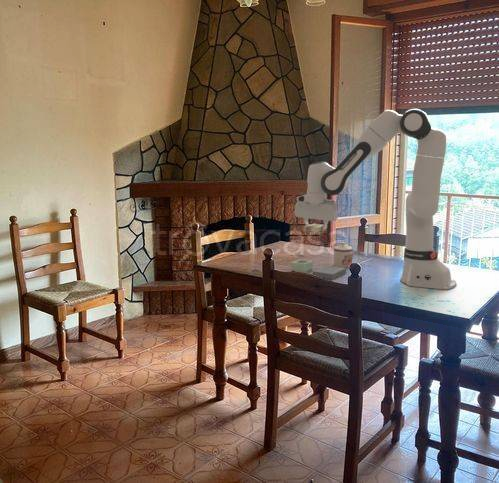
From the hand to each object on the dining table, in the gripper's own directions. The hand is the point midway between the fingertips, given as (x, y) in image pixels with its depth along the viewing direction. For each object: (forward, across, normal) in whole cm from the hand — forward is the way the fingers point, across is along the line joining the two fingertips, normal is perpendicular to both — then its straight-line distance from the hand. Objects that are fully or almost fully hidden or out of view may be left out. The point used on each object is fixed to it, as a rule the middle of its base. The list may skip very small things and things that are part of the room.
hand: (315, 228), depth 235 cm
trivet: (+20, -8, -1) cm, 22 cm away
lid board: (0, 0, 0) cm, 1 cm away
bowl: (+21, +6, 0) cm, 22 cm away
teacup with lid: (+20, -6, -20) cm, 29 cm away
